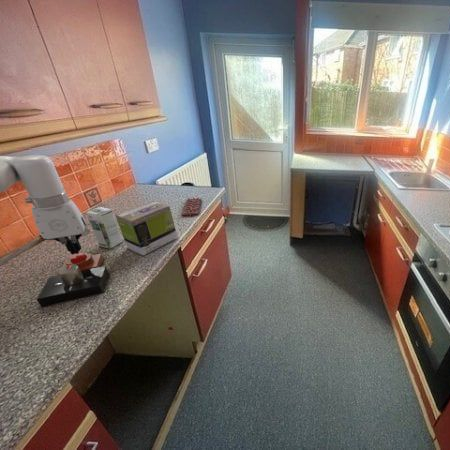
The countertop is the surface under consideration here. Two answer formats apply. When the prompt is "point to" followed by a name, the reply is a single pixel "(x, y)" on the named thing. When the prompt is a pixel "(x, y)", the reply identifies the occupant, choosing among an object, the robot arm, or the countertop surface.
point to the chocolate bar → (192, 207)
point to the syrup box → (104, 227)
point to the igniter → (87, 262)
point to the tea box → (147, 227)
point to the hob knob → (70, 274)
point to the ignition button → (77, 257)
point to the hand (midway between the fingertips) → (76, 251)
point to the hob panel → (73, 287)
